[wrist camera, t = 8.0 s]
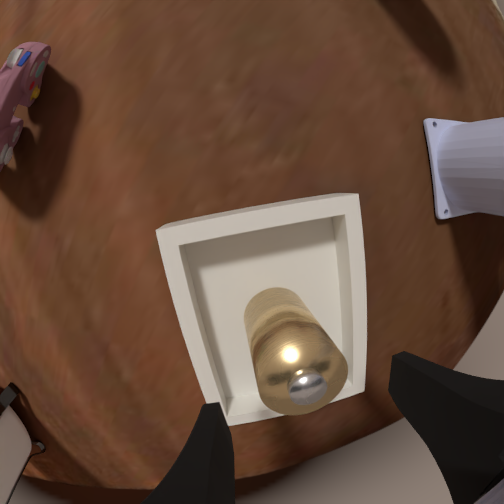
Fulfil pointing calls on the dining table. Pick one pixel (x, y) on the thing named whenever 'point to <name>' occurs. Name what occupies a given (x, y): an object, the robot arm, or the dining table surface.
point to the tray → (266, 287)
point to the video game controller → (19, 90)
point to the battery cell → (291, 354)
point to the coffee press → (12, 445)
